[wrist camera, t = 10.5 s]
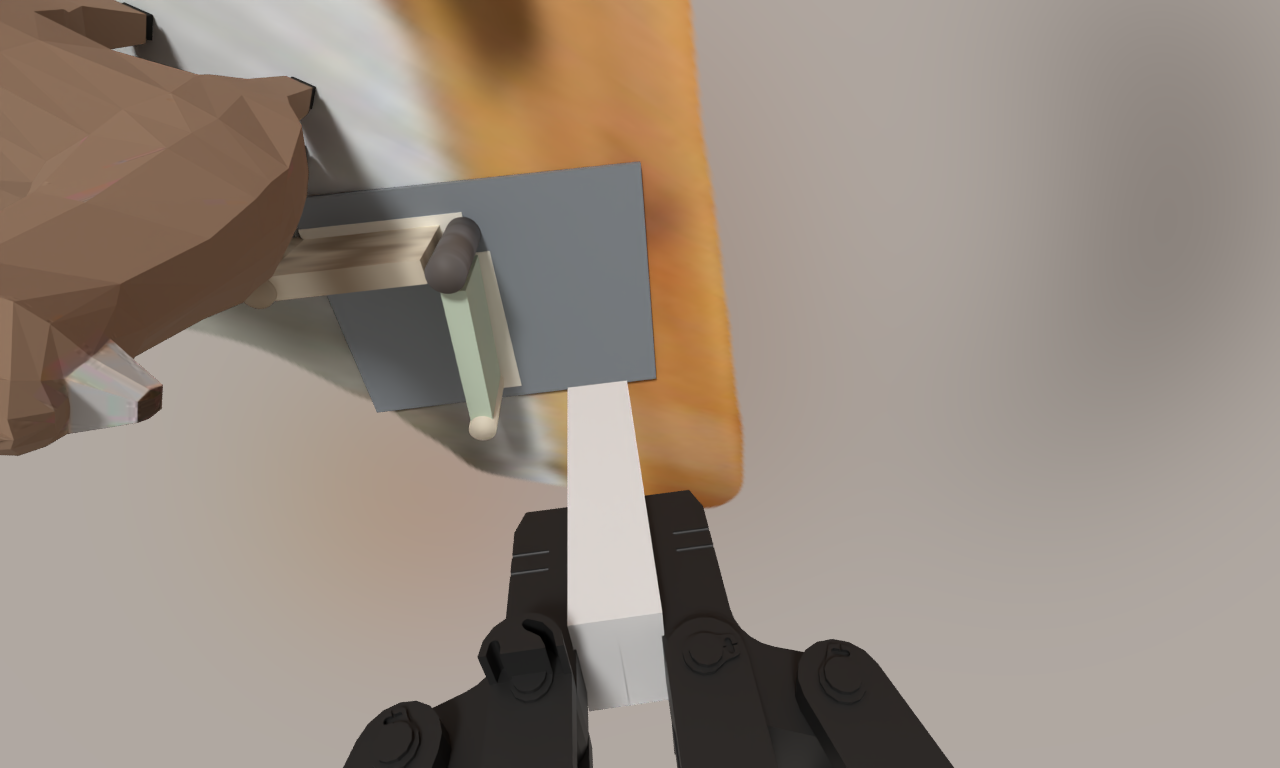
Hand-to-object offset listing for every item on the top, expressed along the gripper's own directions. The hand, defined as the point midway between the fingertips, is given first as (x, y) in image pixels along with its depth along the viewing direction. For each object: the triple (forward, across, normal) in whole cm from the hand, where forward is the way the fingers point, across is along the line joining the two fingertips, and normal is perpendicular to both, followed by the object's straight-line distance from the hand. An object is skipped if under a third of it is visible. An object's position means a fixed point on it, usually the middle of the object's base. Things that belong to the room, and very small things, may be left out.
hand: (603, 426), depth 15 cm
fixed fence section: (+29, -15, -4) cm, 33 cm away
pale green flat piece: (+28, -9, -11) cm, 32 cm away
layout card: (+29, -8, -10) cm, 32 cm away
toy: (+30, -21, +6) cm, 37 cm away
